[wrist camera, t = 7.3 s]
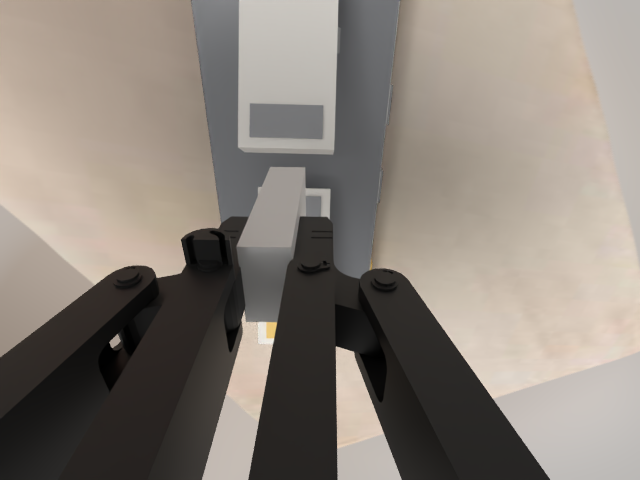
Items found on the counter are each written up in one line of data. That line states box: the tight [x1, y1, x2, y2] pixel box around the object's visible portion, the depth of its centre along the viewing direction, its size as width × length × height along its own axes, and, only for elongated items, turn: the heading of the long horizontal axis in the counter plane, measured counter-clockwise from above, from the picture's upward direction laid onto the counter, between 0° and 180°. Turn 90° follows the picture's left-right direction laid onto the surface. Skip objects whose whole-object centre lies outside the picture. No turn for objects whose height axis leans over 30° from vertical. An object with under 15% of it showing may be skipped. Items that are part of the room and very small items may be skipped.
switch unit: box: [191, 0, 400, 279], centre depth 26 cm, size 27×12×8 cm, turn 179°
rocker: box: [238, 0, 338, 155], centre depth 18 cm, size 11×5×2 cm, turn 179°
